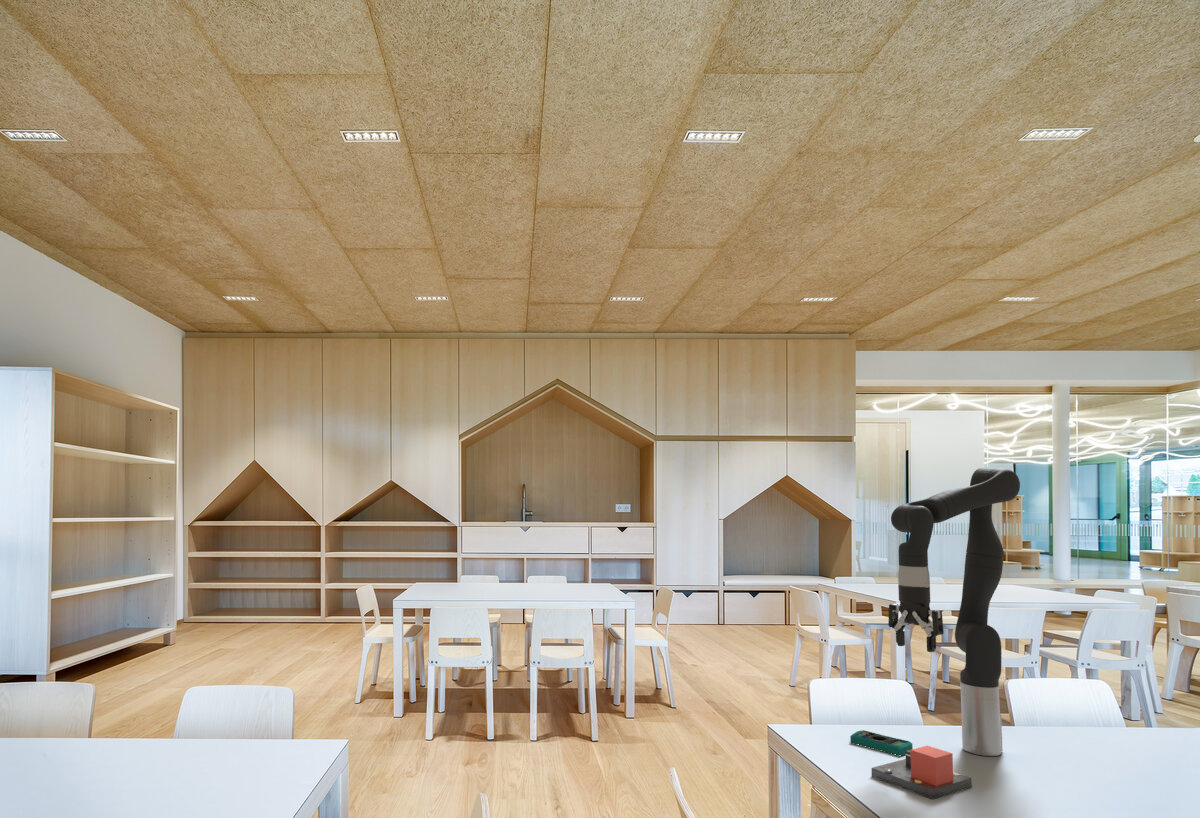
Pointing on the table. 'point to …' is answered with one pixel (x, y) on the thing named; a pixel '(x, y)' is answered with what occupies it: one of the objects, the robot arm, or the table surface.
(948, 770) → the red cube
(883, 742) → the digital multimeter
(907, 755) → the breaker
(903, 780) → the breaker panel
